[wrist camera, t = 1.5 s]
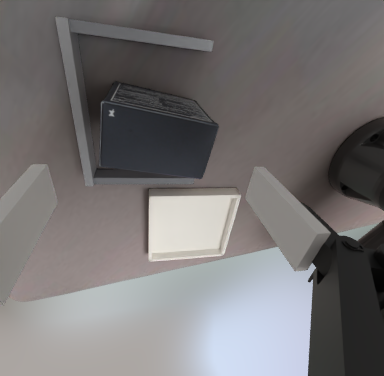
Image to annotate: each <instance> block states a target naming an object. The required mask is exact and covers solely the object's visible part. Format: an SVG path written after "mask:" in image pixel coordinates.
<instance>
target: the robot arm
mask: <svg viewBox="0 0 384 376" xmlns="http://www.w3.org/2000/svg"><path fill="white" fill-rule="evenodd" d="M329 181H330V184H331V186H332V187H333V188H334V189H335V190H337V191H338V192H340V193H341V194H342V195H344V196H346V197H348V198H352V199H355V200H358V201H361V202H364V203H367V204H370V205H373V206H376V207H379V208H380V209H382V210H383V211H384V118H380V119H377V120H374V121H372V122H370V123H368V124H366V125H364V126H363V127H361V128H360V129H358V130H357V131H356V132H355V133H353V134H352V135H351V136H350V137H349V138H348V139H347V140H346V141H345V142H344V143H343V144H342V146H341V147H340V148H339V150H338V151H337V153H336V154H335V156H334V158H333V160H332V162H331V165H330V169H329ZM245 199H246V200H247V202H248V203H249V205H250V206H251V208H252V209H253V211H254V212H255V214H256V215H257V217H258V218H259V219H260V221H261V222H262V224H263V225H264V227H265V228H266V230H267V231H268V233H269V234H270V236H271V237H272V239H273V240H274V242H275V243H276V244H277V246H278V247H279V249H280V250H281V252H282V253H283V255H284V256H285V258H286V259H287V261H288V262H289V264H290V265H291V266H292V268H293V269H294V271H303V270H308V268H309V266H310V265H311V263H313V264H314V265H315V267H316V269H315V270H314V272H313V273H312V275H311V276H310V278H309V280H308V282H311V280H312V279H313V293H312V311H311V330H310V348H309V366H308V376H384V220H383V221H382V222H380V223H379V224H378V225H377V226H376V227H374V228H373V229H372V230H371V231H369V232H368V233H367V234H365V235H364V236H363V237H362V238H360V239H359V240H358V241H356V240H354V239H352V238H350V237H347V236H339V235H338V234H337V233H336V232H335V231H334V230H333V229H332V228H331V227H330V226H329V225H328V224H327V223H325V222H324V221H323V220H322V219H321V218H320V217H319V216H318V215H317V214H316V213H315V212H314V211H313V210H312V209H311V208H310V207H308V206H307V205H305V204H303V203H302V202H299V201H298V200H297V199H296V198H295V197H294V196H293V195H292V194H291V193H290V192H289V191H288V190H287V189H286V188H285V187H284V186H283V185H282V184H281V183H280V182H279V181H278V180H277V179H276V178H275V177H274V176H273V175H272V174H271V173H270V172H269V171H268V170H267V169H266V168H265V167H254V170H253V173H252V177H251V180H250V183H249V186H248V190H247V193H246V196H245ZM57 204H58V200H57V197H56V193H55V190H54V186H53V182H52V179H51V175H50V172H49V168H48V165H47V164H32V165H31V166H30V167H29V168H28V169H27V170H26V171H25V172H24V173H23V175H22V176H21V177H20V178H19V179H18V180H17V181H16V182H15V183H14V184H13V185H12V187H11V188H10V189H9V190H8V191H7V192H6V193H5V194H4V195H3V196H2V197H1V199H0V306H2V305H4V304H5V302H6V300H7V298H8V297H9V295H10V293H11V291H12V289H13V287H14V285H15V283H16V281H17V280H18V278H19V276H20V274H21V272H22V270H23V268H24V266H25V264H26V263H27V261H28V259H29V257H30V255H31V253H32V251H33V249H34V247H35V245H36V244H37V242H38V240H39V238H40V236H41V234H42V232H43V230H44V228H45V227H46V225H47V223H48V221H49V219H50V217H51V215H52V213H53V211H54V209H55V208H56V206H57Z"/></svg>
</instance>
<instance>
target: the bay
mask: <svg viewBox="0 0 384 376" xmlns="http://www.w3.org/2000/svg"><path fill="white" fill-rule="evenodd" d="M55 20H56V25H57V31H58V36H59V42H60V47H61V53H62V58H63V64H64V69H65V75H66V80H67V86H68V92H69V97H70V103H71V108H72V114H73V119H74V125H75V130H76V136H77V141H78V147H79V152H80V158H81V163H82V169H83V174H84V180H85V185H86V186H94V184H194V178H189V177H181V176H174V175H166V174H158V173H150V172H141V171H133V170H121V169H97V168H96V161H95V153H94V146H93V139H92V132H91V125H90V118H89V111H88V104H87V97H86V90H85V83H84V75H83V68H82V61H81V54H80V47H79V40H78V34H85V35H93V36H100V37H107V38H114V39H121V40H128V41H135V42H142V43H150V44H157V45H164V46H171V47H178V48H185V49H192V50H199V51H207V52H212V48H213V41H212V40H205V39H198V38H192V37H185V36H179V35H172V34H166V33H159V32H153V31H146V30H140V29H133V28H127V27H120V26H114V25H107V24H101V23H94V22H87V21H81V20H74V19H68V18H64V17H57V16H55Z"/></svg>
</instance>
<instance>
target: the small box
mask: <svg viewBox="0 0 384 376" xmlns="http://www.w3.org/2000/svg"><path fill="white" fill-rule="evenodd" d="M218 128H219V126H218V124H217V123H215V122H214V121H213V120H212V119H211V118H210V117H209V116H208V115H207V114H206V112H205V111H204V110H203V109H202V108H201V107H200V106H199V104H198V103H197V102H196V101H195V100H190V99H187V98H183V97H178V96H174V95H172V94H166V93H162V92H158V91H154V90H151V89H146V88H142V87H138V86H134V85H129V84H125V83H120V82H117V81H115V82H114V83H113V86H112V88H111V89H110V91H109V92H108V94H107V96H106V97H105V99H104V101H102V102H101V119H100V153H99V165H100V166H101V167H108V168H116V169H125V170H133V171H141V172H150V173H158V174H166V175H174V176H181V177H189V178H197V179H202V177H203V175H204V172H205V169H206V166H207V163H208V160H209V157H210V154H211V150H212V147H213V144H214V141H215V138H216V135H217V132H218Z"/></svg>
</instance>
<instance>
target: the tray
mask: <svg viewBox="0 0 384 376" xmlns="http://www.w3.org/2000/svg"><path fill="white" fill-rule="evenodd" d="M240 198H241V194H240V192H239V191H238V189H237V188H157V189H149V236H148V257H149V262H152V261H164V260H176V259H189V258H201V257H213V256H224V253H225V250H226V247H227V243H228V240H229V236H230V233H231V229H232V226H233V222H234V219H235V215H236V212H237V209H238V205H239V202H240Z"/></svg>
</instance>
